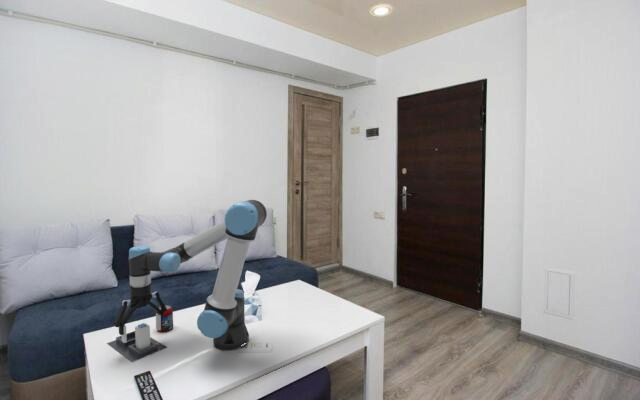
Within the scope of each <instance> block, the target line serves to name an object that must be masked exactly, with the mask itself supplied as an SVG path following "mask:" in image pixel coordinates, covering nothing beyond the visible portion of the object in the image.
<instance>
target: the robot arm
mask: <svg viewBox="0 0 640 400" xmlns="http://www.w3.org/2000/svg"><path fill="white" fill-rule="evenodd" d="M224 215H225V216H224V220H222V221H220V222H219V223H217V224H215V225H213V226H211V227H209V228H208V229H206V230H204V231H202V232H200V233H199V234H197V235H195V236H193V237H192V238H190V239H188V240H186V241H185V242H182V243H181V244H178V245H176V246H175V247H173V248H169V249H168V250H165V251H161V252H159V251H158V252H156V251H151V248H150V246H147V245H137V246H133V247H131V248H129V250H128V265H129V266H128V267H129V285H130V286H129V299H127V300H125V299H123V300H121V301H120V303H121V304H120V308H119V309H118V312H117V314H116V316H115V319H114V321H113V324H112V325H113V327H115V328H118V334H119V336H122V342H124V343H127V335H126V334H127V326H126V324H127V322H128V321H129V319H130V318H131V317H132V315H133V313H134V312H135V311H136V310H137V309H141V308H146V307H147V306H149V307H150V308H151V309H152V310H154V311H155V312H156V313H155V329H156V330H157V329H158V330H161V321H162V320H163V314H164V312H165V311H167V308H166V307H165V304H164V302H163V301H162V299H161V297H160V292H158V291H156V290H155V291H153V292H152V284H151V283H152V279H151V278H152V274H151V272H163V273H172V272H173V273H174V272H177V271H178V269H179V268H180V266H181V264H183V263H185V262H188V261H189V260H191V259H192V258H194V257H195V256H198V255H200V254H202V253H203V252H205V251H208V250H209V249H210V248H212V247H214V246H216V245H219V244H220V243H221V242H224V241H225V240H226V241H225V242H226V243H225V246H224V250H223V253H222V257H221V261H220V265H219V268H218V271H217V275H216V278H215V279H216V280H215V283H214V287H213V291H212V294H210V295H209V296H207V297H206V300H205V301H206V302H205V305H204V309H203V311H202V312H200V313H199V316H198V317H197V321H196V325H197V328H198V330H199V331H200V333H201V334H202V335H203V336H204V337H206V338H209V339H212V340H213V341H212V343H213V347H214V348H216V349H218V350H219V351H220V350H222V351H233V350H237V349H240V347H241V345H242V344H244V343H247V342H248V343H249V341H250V335H249V330H248V327H247V325H246V321H245V319H246V318H245V317H246V315H245V292H244V290H242V289H239V288H238V286H239V283H240V279H241V276H242V272H243V268H244V264H245V261H246V258H247V255H248V250H249V247H250V244H251V243H252V242H254V241H255V240H256V237H257V232H258V229H259V228H260V227H261V226H262V225H263V224H264V223H266V220H267V216H268V214H267V208H266V207H265V204H264V203H262V202H261V201H258V200H256V199H248V200H244V201H239V202H236V203H234V204H232V205H231V206H230V207H229V208H228V209H227V210H226V213H225V214H224ZM152 298H154V300H155V301H156V303H157V304H158V306H159V307H160V308H161V310H160V309H159V307H158V306H156V305H155V304H154V303H153V302H152V301H151V300H152ZM128 306H129V307H128ZM157 312H158V313H157ZM248 343H247V344H248ZM241 348H242V347H241Z"/></svg>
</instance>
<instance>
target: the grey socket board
mask: <svg viewBox="0 0 640 400" xmlns="http://www.w3.org/2000/svg"><path fill="white" fill-rule="evenodd" d="M126 335H127V343H124V342H122V335H119V336H117V337H115V340H112V341H110V342H107V343H106V345H108V346H109V347H110V348H112V349H113V350H115V351H116V352H117V353H118V354H120V355H121V356H122V357H124V358H125V359H127V360H128V361H129V362H130V363H134V362H136V361H139V360H141V359H143V358H144V359H145V357H148V356H151V355H153V354H155V353H158V352H160V351H162V350H165V349H168V347H167V346H166V345H164V344H163V343H161V342H159V341H158V340H156V339H154V338H152V336H150V346H149V347H146V348H144V349H141V350H137V349H136V339H135V330H134V331H130V332H128V333H127V332H126Z"/></svg>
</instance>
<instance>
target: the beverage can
mask: <svg viewBox="0 0 640 400" xmlns="http://www.w3.org/2000/svg"><path fill="white" fill-rule="evenodd" d="M164 305H165V304H164ZM165 307H166V308H167V311H165V312H164V314H163V320H162V321H161V330H158V329H156V330H157V331H156V333H159V334H164V333H169V332H172V330H173V331H174V314H173V313H174V311H173V308H172V306H171V305H170V304H169V305H167V304H166V305H165ZM158 308H159V309H160V310H161V308H160V306H159V307H158ZM157 313H158V312H156V314H157Z"/></svg>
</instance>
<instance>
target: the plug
mask: <svg viewBox="0 0 640 400" xmlns="http://www.w3.org/2000/svg"><path fill="white" fill-rule="evenodd" d="M150 327H151V326H150V325H149V324H147V323H145V322H142V323H140V324H137V325H135V326H134V331H135V339H136V349H137V350H141V349H144V348H146V347H149V346H150V337H151V329H150Z"/></svg>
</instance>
